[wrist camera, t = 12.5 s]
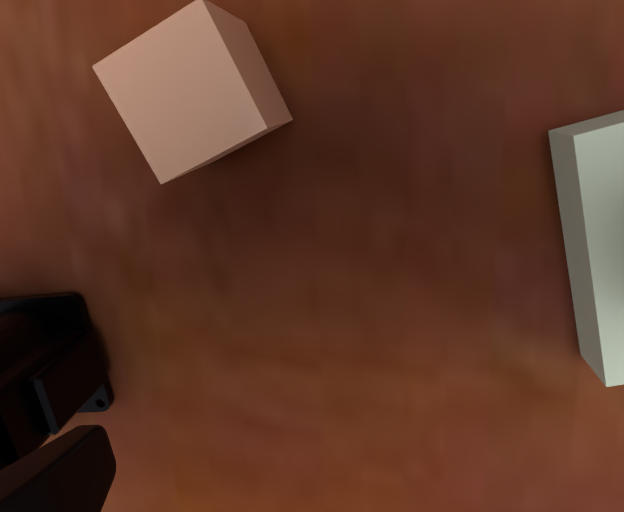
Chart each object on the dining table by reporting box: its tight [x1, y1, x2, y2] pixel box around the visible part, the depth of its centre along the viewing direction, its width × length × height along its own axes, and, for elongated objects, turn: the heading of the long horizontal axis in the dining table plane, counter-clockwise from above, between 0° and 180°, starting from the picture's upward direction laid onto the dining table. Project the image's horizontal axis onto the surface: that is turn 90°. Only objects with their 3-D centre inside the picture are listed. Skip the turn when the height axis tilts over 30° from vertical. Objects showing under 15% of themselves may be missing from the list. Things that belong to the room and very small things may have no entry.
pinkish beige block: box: [92, 0, 293, 184], centre depth 17 cm, size 4×4×5 cm
